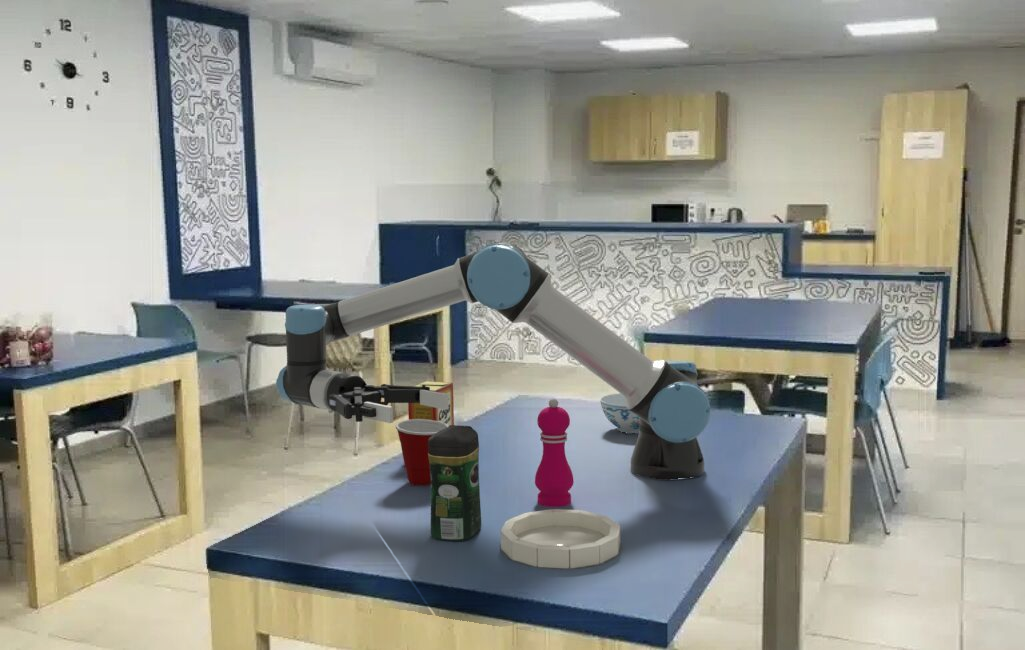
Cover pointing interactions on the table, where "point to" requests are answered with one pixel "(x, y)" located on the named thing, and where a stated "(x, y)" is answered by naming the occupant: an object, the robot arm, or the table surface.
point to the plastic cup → (417, 447)
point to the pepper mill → (554, 458)
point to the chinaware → (619, 413)
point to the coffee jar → (454, 483)
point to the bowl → (560, 538)
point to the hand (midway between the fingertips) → (420, 408)
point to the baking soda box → (431, 412)
